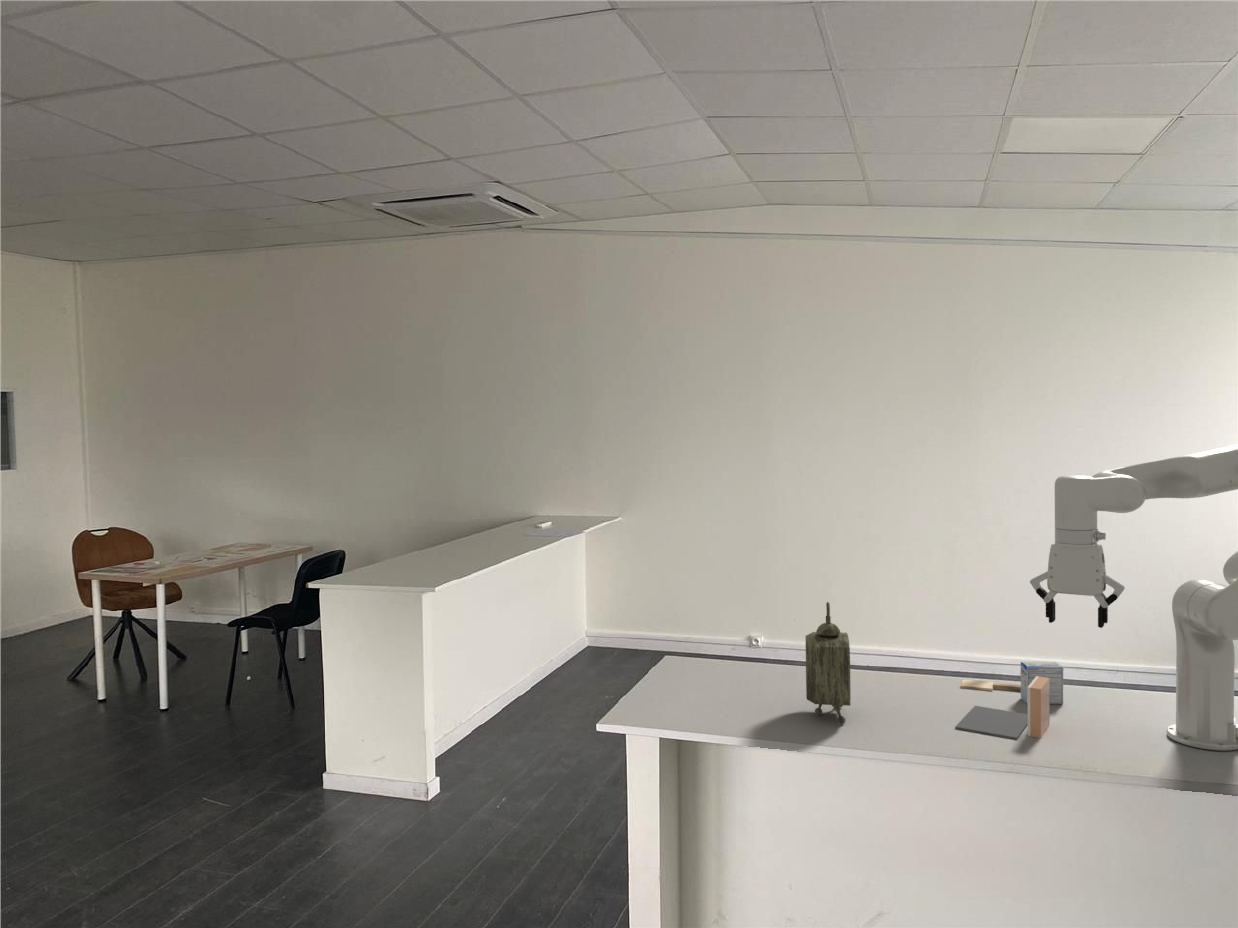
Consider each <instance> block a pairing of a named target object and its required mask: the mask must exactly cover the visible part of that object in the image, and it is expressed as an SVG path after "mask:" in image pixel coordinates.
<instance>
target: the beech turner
mask: <svg viewBox="0 0 1238 928" xmlns="http://www.w3.org/2000/svg"><path fill="white" fill-rule="evenodd" d="M960 688H961V689H967V690H976V691H977V690H978V691H986V692H987V691H989V692H994V690H1002V691H1012V692H1013V691H1014V692H1021V684H1011V683H1010V684H1009V683H999V682H994V681H986V680H985V681H984V680H975V681H974V680H972V679H962V680H961V684H960Z"/></svg>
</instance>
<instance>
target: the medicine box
mask: <svg viewBox="0 0 1238 928" xmlns="http://www.w3.org/2000/svg"><path fill="white" fill-rule="evenodd" d="M1036 676H1039V677H1046V678H1049V705H1063V704H1064V666H1062V665H1061V664H1060V663H1058V662H1057V661H1020V685H1021V691H1020V698H1021V699H1022V700H1023V702H1025V703H1026V704H1027V705H1028V700H1027V687H1028V686H1029V685H1030V683H1031V682H1032V681H1033V680H1034V679H1035V677H1036Z"/></svg>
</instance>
